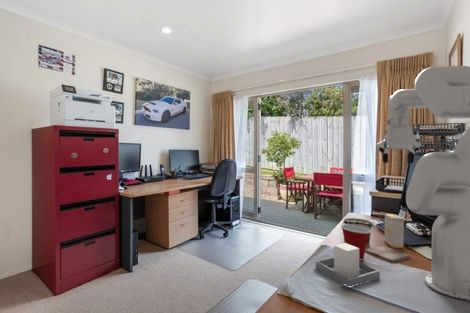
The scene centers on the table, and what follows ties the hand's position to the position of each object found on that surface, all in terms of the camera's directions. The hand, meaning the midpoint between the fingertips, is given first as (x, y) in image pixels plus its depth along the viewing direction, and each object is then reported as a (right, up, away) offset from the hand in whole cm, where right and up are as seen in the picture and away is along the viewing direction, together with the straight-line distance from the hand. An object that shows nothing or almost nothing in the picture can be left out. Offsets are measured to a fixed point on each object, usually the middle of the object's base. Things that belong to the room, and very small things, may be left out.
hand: (397, 162), depth 105 cm
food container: (-13, -37, +9) cm, 40 cm away
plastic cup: (-23, -37, -10) cm, 45 cm away
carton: (-33, -37, -23) cm, 54 cm away
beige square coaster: (-9, -37, -7) cm, 39 cm away
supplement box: (+1, -37, +4) cm, 38 cm away
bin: (-33, -37, -23) cm, 54 cm away
